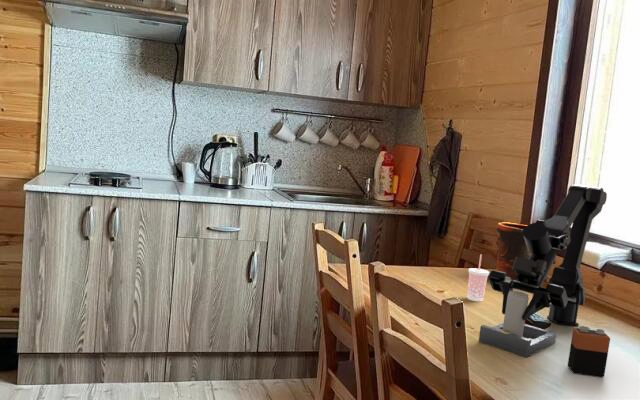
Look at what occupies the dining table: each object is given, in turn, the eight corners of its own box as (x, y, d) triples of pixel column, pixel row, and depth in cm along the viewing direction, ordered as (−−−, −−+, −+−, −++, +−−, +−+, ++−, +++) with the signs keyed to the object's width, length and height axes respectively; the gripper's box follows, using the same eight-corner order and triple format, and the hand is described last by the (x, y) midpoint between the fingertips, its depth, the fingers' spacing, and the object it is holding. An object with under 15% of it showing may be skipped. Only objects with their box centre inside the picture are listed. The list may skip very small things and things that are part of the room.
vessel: (497, 272, 233) (506, 220, 230) (535, 282, 225) (545, 228, 222) (483, 278, 221) (491, 223, 218) (522, 288, 213) (532, 231, 210)
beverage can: (525, 345, 149) (533, 296, 147) (508, 345, 148) (516, 296, 146) (513, 337, 154) (521, 290, 152) (496, 337, 152) (504, 290, 151)
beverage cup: (480, 303, 187) (486, 257, 185) (461, 298, 190) (467, 253, 189) (488, 300, 192) (494, 255, 190) (469, 295, 195) (475, 251, 194)
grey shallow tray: (509, 328, 164) (512, 313, 163) (555, 342, 156) (557, 326, 155) (477, 342, 150) (479, 325, 150) (525, 358, 142) (527, 340, 142)
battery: (566, 366, 140) (573, 323, 139) (598, 370, 139) (605, 327, 138) (572, 373, 136) (579, 329, 134) (604, 378, 135) (611, 333, 134)
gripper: (496, 238, 157) (469, 286, 150) (570, 253, 145) (545, 307, 138) (505, 265, 164) (480, 312, 157) (577, 282, 151) (553, 334, 144)
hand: (513, 316), depth 149 cm, fingers closed on beverage can, 5 cm apart
